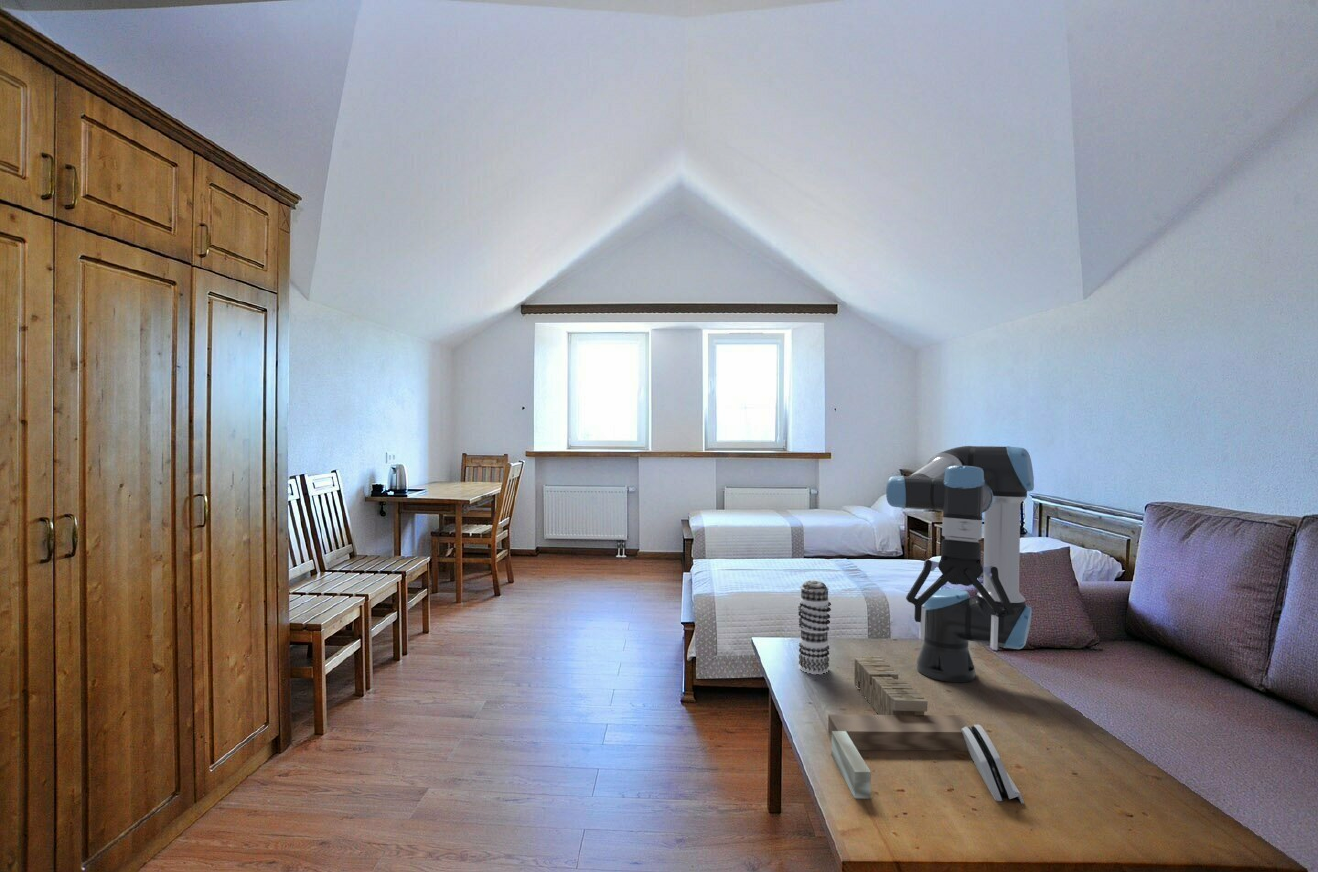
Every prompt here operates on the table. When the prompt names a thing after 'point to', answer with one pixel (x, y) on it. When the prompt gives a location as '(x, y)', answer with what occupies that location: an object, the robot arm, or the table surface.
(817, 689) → the table surface
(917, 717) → the board
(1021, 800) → the grey arched slotted casing
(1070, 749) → the table surface
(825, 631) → the decorative candle
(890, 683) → the block tower
